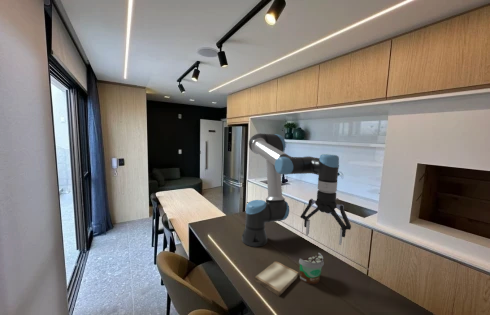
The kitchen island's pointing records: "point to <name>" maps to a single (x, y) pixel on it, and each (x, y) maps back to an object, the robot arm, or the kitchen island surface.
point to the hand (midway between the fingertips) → (323, 238)
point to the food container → (311, 269)
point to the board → (276, 277)
